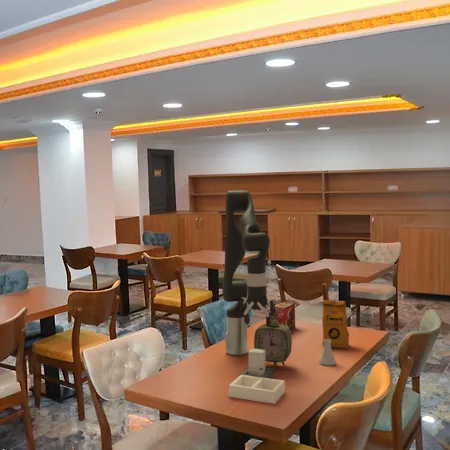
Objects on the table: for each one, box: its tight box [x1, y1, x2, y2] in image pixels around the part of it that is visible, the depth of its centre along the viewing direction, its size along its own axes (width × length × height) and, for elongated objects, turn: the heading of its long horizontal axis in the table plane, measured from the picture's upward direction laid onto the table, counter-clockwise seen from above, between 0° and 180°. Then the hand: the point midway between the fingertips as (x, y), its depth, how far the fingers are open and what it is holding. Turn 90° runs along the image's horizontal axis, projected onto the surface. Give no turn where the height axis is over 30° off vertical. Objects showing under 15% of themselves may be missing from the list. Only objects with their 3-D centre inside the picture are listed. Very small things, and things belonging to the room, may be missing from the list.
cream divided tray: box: [228, 374, 286, 405], centre depth 196 cm, size 18×11×4 cm, turn 65°
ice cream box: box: [268, 301, 296, 331], centre depth 277 cm, size 20×6×13 cm, turn 146°
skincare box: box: [248, 348, 266, 376], centre depth 210 cm, size 6×4×12 cm
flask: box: [318, 339, 337, 367], centre depth 228 cm, size 7×7×10 cm
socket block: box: [239, 366, 275, 379], centre depth 210 cm, size 10×11×4 cm
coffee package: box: [321, 299, 350, 350], centre depth 250 cm, size 10×12×22 cm
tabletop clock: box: [253, 308, 293, 371], centre depth 224 cm, size 14×9×25 cm, turn 70°
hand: (257, 324), depth 209 cm, fingers open, 8 cm apart
